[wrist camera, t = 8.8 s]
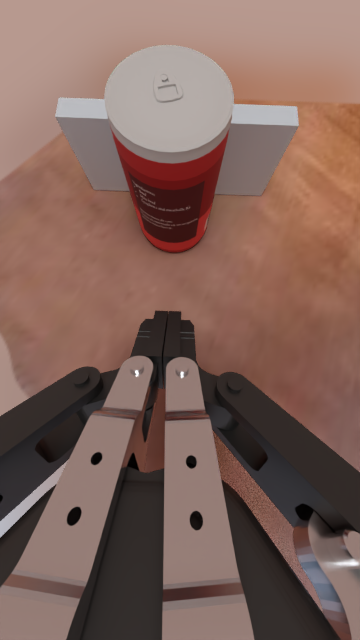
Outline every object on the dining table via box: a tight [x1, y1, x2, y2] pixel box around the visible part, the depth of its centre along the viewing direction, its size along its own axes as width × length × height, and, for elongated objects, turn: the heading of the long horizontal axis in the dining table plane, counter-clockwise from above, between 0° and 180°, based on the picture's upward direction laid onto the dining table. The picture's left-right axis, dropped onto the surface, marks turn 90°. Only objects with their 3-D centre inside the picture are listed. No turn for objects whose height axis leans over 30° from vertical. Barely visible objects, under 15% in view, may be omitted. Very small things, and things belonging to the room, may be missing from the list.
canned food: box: [104, 45, 234, 252], centre depth 16 cm, size 8×8×11 cm
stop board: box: [56, 98, 299, 196], centre depth 19 cm, size 20×7×7 cm, turn 88°
